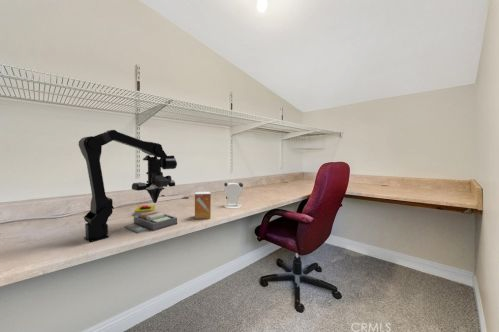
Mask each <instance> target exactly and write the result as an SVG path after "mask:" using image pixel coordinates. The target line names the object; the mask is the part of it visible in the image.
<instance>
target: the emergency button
mask: <svg viewBox="0 0 499 332" xmlns="http://www.w3.org/2000/svg"><path fill="white" fill-rule="evenodd" d="M151 211H156V205H153V204H152V205H138V206H137V208H135V210H134V216H133V218H134V217H136V216H140V214H142V213H147V212H151Z"/></svg>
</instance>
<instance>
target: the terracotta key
mask: <svg viewBox="0 0 499 332" xmlns="http://www.w3.org/2000/svg"><path fill="white" fill-rule="evenodd" d="M158 212H159V211H156V210H155V211H151V212H147V213H142V214H140V218H146V216H148V215H152V214H156V213H158Z"/></svg>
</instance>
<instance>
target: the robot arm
mask: <svg viewBox="0 0 499 332" xmlns="http://www.w3.org/2000/svg"><path fill="white" fill-rule="evenodd" d="M112 141H113V142H116V143H119V144H122V145H126V146H129V147H132V148H135V149H138V150H139V151H141V152H143V153H144V154H146V155H145V156H144V157H143V158H142V161H146V162H147V172H146V175H147V180H146V183H145V182H141V181H140V182H134V183H132V184H131V190H134V191H139V192H140V191H146V192H147V193H148V194H149V197H150V198H151V200H152V202H153V203H154V204H156V203H157V201H158V200H159V196H160V194H161V192H162V191H163V190H165V187H169V188H171V187H176V182H175V180H173V178H172V176H171V175H166V176H164V174H163V171H162V170H174V169H176V168H177V166H178V162H177V160H176V157H175V155H167V153H166V152H165V151H164V149H163V148H164V147H163V146H162V144H160V143H159V142H153V141H146V140H145V141H144V140H142V139H140V138H136V137H134V136H130V135H128V134H125V133H123V132H120V131H117V130H116V129H110V130H106V131H104V132H102V133H99V134H96V135H94V136H92V135H91V136H84V137H82V138H80V140H79V141H78V147H79V149H80V152H81V155H82V156H83V159H84V160H85V161H86V166H87V167H86V168H87V174H88V179H89V185H90V190H91V195H92V196H91V200H90V206H89V208H90V210H89V211H88V212H87V213H86V214H85V215H84V216H83V220H84V221H85V222H86V223H84V226H85V227H84V229H85V236H84V237H83V239H84V240H85V241H87V242H89V243H93V242H96V241H100V240H103V239H104V240H105V239H107V238H109V224H108V223H107V222H108V221H109V218H110V217H111V216H112V214H113V210H114V209H115V207H114V206H113V203H114V202H113V199H112V198H111V197H108V196H107V195H106V189H105V183H104V177H103V173H102V166H101V165H102V164H101V155H102V148H103V147H102V146H105V145H107V144H109V143H111V142H112Z"/></svg>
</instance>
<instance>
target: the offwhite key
mask: <svg viewBox="0 0 499 332" xmlns="http://www.w3.org/2000/svg"><path fill="white" fill-rule="evenodd" d="M164 214H165V213H162V212H159V213H156V214H152V215H148V216H146V220H148V221H149V220H153V219H157V218H161V217H164Z"/></svg>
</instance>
